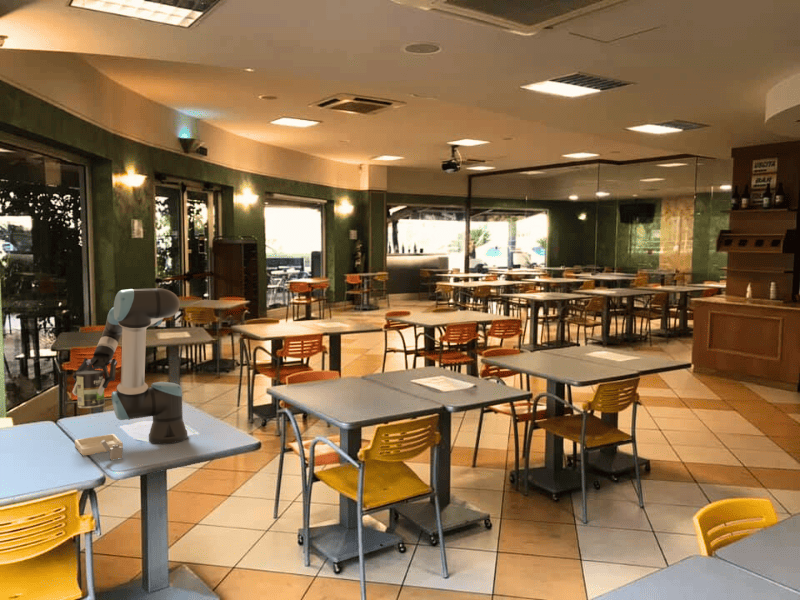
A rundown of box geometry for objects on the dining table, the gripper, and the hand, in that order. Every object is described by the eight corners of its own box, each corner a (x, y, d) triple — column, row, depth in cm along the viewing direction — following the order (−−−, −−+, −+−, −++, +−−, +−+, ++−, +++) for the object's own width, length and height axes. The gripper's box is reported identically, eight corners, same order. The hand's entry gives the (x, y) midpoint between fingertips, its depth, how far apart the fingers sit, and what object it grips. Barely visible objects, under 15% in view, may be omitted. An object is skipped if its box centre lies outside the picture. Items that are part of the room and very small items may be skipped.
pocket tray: (122, 449, 263) (122, 442, 263) (82, 455, 254) (82, 449, 254) (113, 440, 275) (113, 433, 275) (74, 446, 266) (74, 439, 266)
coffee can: (110, 403, 281) (108, 369, 280) (95, 408, 271) (93, 374, 270) (87, 402, 283) (86, 369, 282) (71, 408, 273) (70, 373, 271)
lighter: (121, 457, 253) (120, 436, 252) (122, 458, 252) (121, 437, 251) (101, 461, 249) (100, 440, 248) (102, 462, 247) (101, 441, 247)
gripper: (134, 355, 289) (116, 399, 275) (84, 354, 291) (64, 398, 277) (127, 344, 284) (109, 389, 269) (76, 344, 286) (56, 388, 271)
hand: (86, 393), depth 273 cm, fingers closed on coffee can, 10 cm apart
